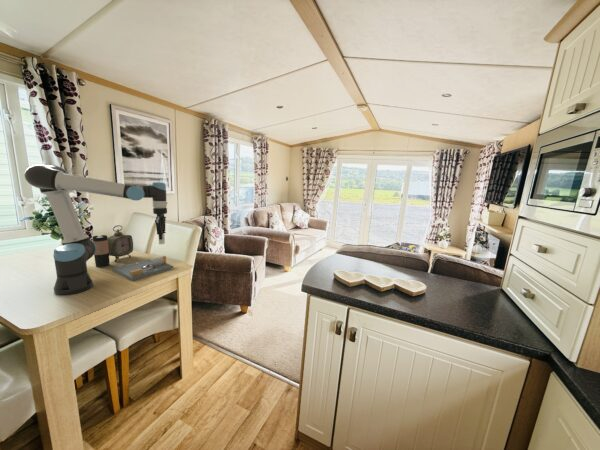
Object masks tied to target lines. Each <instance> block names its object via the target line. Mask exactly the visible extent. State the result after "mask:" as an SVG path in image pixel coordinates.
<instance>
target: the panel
mask: <svg viewBox="0 0 600 450" xmlns="http://www.w3.org/2000/svg"><path fill="white" fill-rule="evenodd" d="M150 259H153V257H152V258H148V259H144V260H141V261H137V262H131V263H128V264H124V265H119V266H115V267H112V271H113V273H116V274H118V275H120V276H122V277H124V278H125V279H127V280H129V281H131V282H132V281H135V280H139V279H140V280H141V279H143V278H146V277H150V276H153V275H156V274H160V273H163V272H167V271H170V270H172V269H171V268H173V269H174V265H172V264H169V263H167V262H166V263H165V264H161V265H157V266H153V269H149V270H146V271H143V273H142V274H139V275H135V276H130V273H129V271H132V270H136V269H140V268H141V269H142V266H144V265H149V264H150ZM169 269H170V270H169ZM143 270H144V269H143ZM166 270H167V271H166Z"/></svg>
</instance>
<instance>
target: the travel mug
mask: <svg viewBox="0 0 600 450" xmlns="http://www.w3.org/2000/svg"><path fill="white" fill-rule="evenodd" d="M107 238H108V235H106V234H102V235H100V236H99V235H93V236H92V242H93V243H94V244H95V246H96V251H95V254H94V255H93V257H94V263H95V267H96V268H105V267H108V266H110V265H111V264H110V256H109V248H108V239H107Z"/></svg>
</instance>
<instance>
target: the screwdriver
mask: <svg viewBox="0 0 600 450" xmlns="http://www.w3.org/2000/svg"><path fill="white" fill-rule="evenodd" d="M149 269H153V267H151V268H148V269H144V270H143V269H141V268H140V269H136V270H132V271H129V273H130V276H135V275H139V274H142V273H143V271H146V270H149Z"/></svg>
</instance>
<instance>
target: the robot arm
mask: <svg viewBox="0 0 600 450" xmlns="http://www.w3.org/2000/svg"><path fill="white" fill-rule="evenodd" d="M24 179H25V181H26V182H27V183H28V184H29V185H30V186H33V187H35V188H37V189H39V191H40V193H41V194H42V195H45V196H46V197H47V200H48V203H49V205H50V208H51V210H52V213H53V215H54V217H55V220H56V223H57V224H58V227H59V230H60V232H61V235H62V237H63V240H62V241H61V244H62V245H59V246H57V247H55V249H54V250H53V260H54V266H55V273H56V280H55V283H54V286H53V293H54V294H55V295H58V296H68V295H74V294H78V293H83V292H85V291H87V290H90V289H91V288H92V287H94V281H93V279H92V278H91V276H90V275H89V273H88V267H87V262H88V260H90V259H91V258H93V257H94V254H95V251H96V246H95V244H94V243H93V240H91V238H90V236H89V235H88V234H85V232H84V230H83V226H82V224H81V222H80V219H79V216H78V214H77V211H76V209H75V206H74V203H73V200H72V198H71V195H70V191H77V192H84V193H89V194H96V195H102V196H103V195H104V196H110V197H115V198H123V199H128V200H131V201H140V200H143V198H144V199H145V198H146V199H147V198H148V199H149V198H150V199H151V198H152V207H153V209H152V211H153V214H154V215H156V217H155V220H154V223H155V228H156V235H158V244H159V245H164V244H166V241H165V234H167V232H166V219H167V216H165V215H166V214H168V202H167V188H166V187H167V185H166V183H165V182H158V181H157V182H155V181H153V182H151V184H150V185H146V184H145V185H144V184H143V185H142V184H126V183H119V182H116V181H115V182H114V181H108V180H102V179H97V178H93V177H91V178H90V177H85V176H81V175H76V174H75V175H74V174H69V172H68V171H67V170H66V169H64V168H62V167H60V166H58V165H55V164H34V165H31V166H29V167H27V168H26V170H25V171H24Z"/></svg>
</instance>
